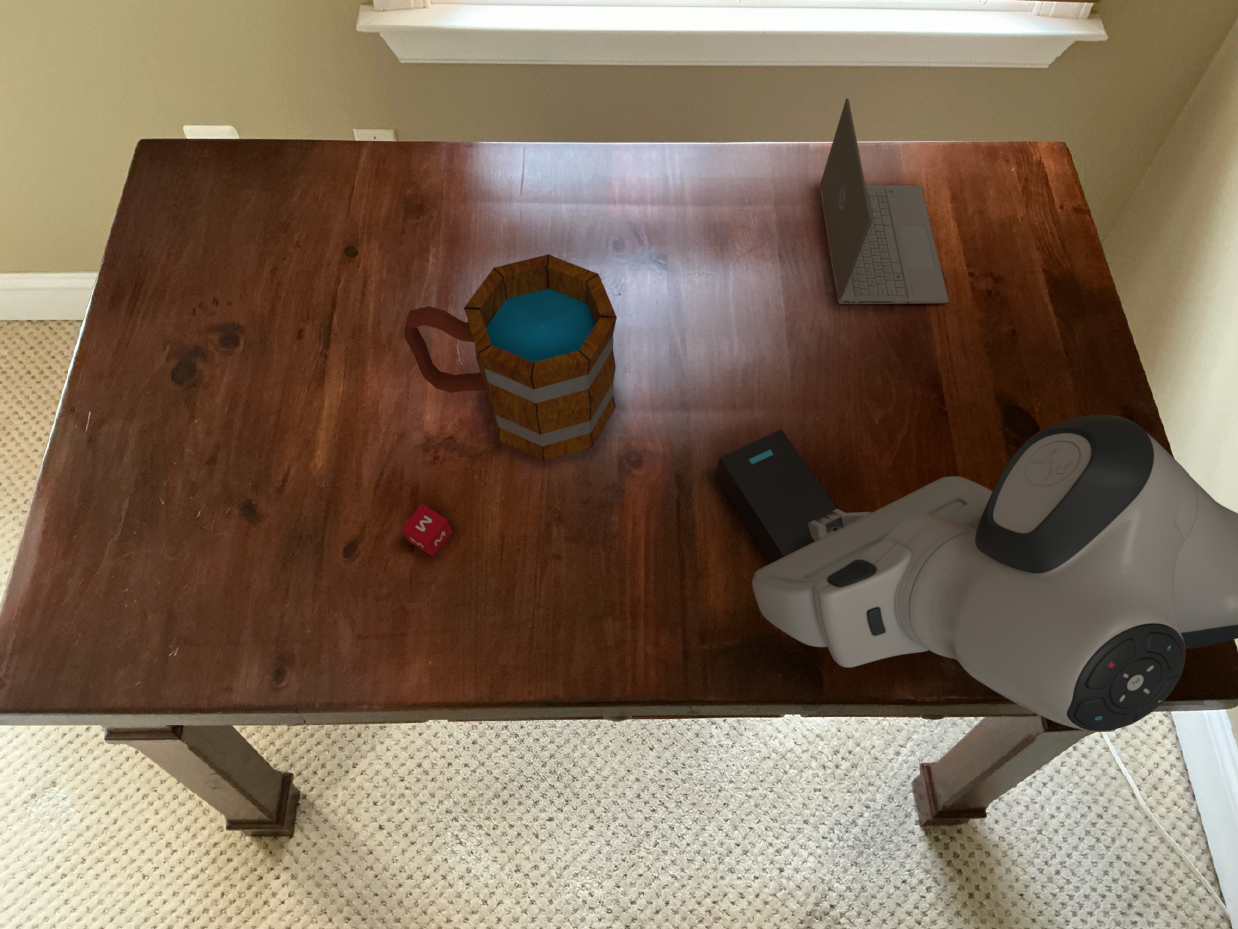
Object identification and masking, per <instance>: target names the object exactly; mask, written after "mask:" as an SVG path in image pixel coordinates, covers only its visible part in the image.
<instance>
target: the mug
mask: <svg viewBox="0 0 1238 929" xmlns="http://www.w3.org/2000/svg"><path fill="white" fill-rule="evenodd" d="M463 310H464V313H465V317H466V319H467V321H464V320H461V319H460V318H458V317H456V316H454V315H453V314H451V313H449V312H448V311H446V310H444V309H439V308H436V307H433V306H429V305H428V306H424V307H420V308H416V309H415V308H414V309H411V310H409V313H408V314H407V316H406V320H405V325H404V331H403V333H404V339H405V340H406V343H407V345H408V346H409V348H410V350H411V352H412V354H413V356H414V359H415V361H416V365H417V367H418V369H419V371H420V373H421V376H422V377H423V379H424V380H426V381H427V382H428V383H429V384H430V385H432V387H434V388H435V389H436V390H440V391H444V392H447V393H461V392H477V391H485V402H486V404H487V407H488V410H489V413H490V417H491V420H492V423H493V426H494V430H495V433H496V436H497V440H498V441H499V442H500V443H503V444H505V445H507V446H510V447H512V448H514V449H516V450H518V451H521V452H523V453H525V454H527V455H529V456H532V457H534V458H536V459H538V460H541V461H543V462H545V461H549V460H551V459H556V458H560V457H563V456H566V455H569V454H573V453H577V452H580V451H583V450H587V449H591V448H593V447H594V446H595V444H596V443H597V441H598V440H599V437H600V435H601V434H602V432H603V430H604V429H605V427H606V425H607V423H608V422H609V420H610V418H611V417H612V415H613V413H614V412H615V410H616V409H617V408H616V403H615V399H614V379H615V373H616V368H617V367H616V358H615V352H614V332H615V329H616V323H617V320H618V319H617V318H618V317H617V314H616V312H615V309H614V308H613V304H612V302H611V300H610V298H609V295H608V293H607V291H606V288H605V285H604V283H603V281H602V278H601V276H600V274H599V273H598V272H595V271H592V270H591V269H587V268H585V267H583V266H579V265H577V264H575V263H572V262H570V261H567V260H564V259H563V258H560V257H557V256H554V255H552V254H543V255H539V256H535V257H531V258H527V259H524V260H520V261H515V262H511V263H507V264H503V265H499V266H495V267H493V268H492V269H491V271H489V273H488V275H487V276H486V277H485V278H484V280H483V281H482V283H481V284H480V285H479V287H478V288H477V289H476V291H475V292H474V293H473V294H472V296H471V298H470V299H469V300H468V302H467V303H466V304H465V306H464V307H463ZM423 326H426V327H430V328H433V329H436V330H441V331H442V332H444V333H445V334H447V335H449V336H451V337H452V338H454V339H456V340H458V341H461V342H468V343H474V348H475V359H476V362H477V365H478V368H479V372H468V373H461V374H460V373H459V374H452V373H449V372H444V371H442V370H440V369H439V368H438V367H437V366H436V365H435V364H434V362H433V359H432V357H431V354H430V352H429V349H428V346H427V343H426V341H425V339H424V337H423V335H422V334H421V332H420V330H419V329H418V328H419V327H423Z"/></svg>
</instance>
